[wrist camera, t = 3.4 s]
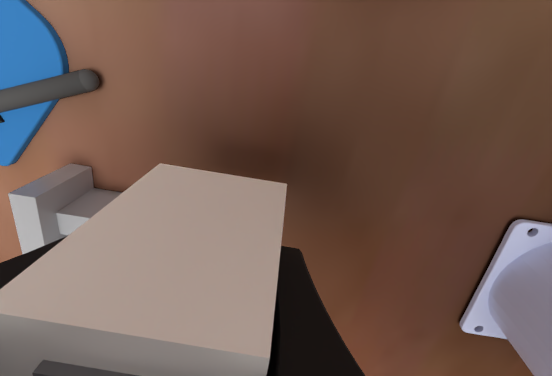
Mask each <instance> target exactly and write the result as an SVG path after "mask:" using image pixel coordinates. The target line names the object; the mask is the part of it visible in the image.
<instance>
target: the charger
mask: <svg viewBox="0 0 552 376" xmlns="http://www.w3.org/2000/svg"><path fill="white" fill-rule="evenodd" d="M286 191H287V184H285V183H279V182H273V181H266V180H260V179H254V178H248V177H242V176H236V175H229V174H223V173H217V172H211V171H205V170H199V169H192V168H186V167H180V166H174V165H168V164H161V163H160V164H158V165H157V166H156V167H155V168H153V169H152V170H151V171H149V172H148V173H147V174H146V175H144V176H143V177H142V178H141V179H139V180H138V181H137V182H136V183H134V184H133V185H132V186H130V187H129V188H128V189H127V190H125V191H124V192H123V193H122V194H120V195H119V196H118V197H117V198H115V199H114V200H113V201H111V202H110V203H109V204H108V205H106V206H105V207H104V208H103V209H101V210H100V211H99V212H98V213H96V214H95V215H94V216H92V217H91V218H90V219H89V220H87V221H86V222H85V223H84V224H82V225H81V226H80V227H79V228H77V229H76V230H75V231H73V232H72V233H71V234H70V235H68V236H67V237H66V238H65V239H63V240H62V241H61V242H60V243H58V244H57V245H56V246H54V247H53V248H52V249H51V250H49V251H48V252H47V253H46V254H44V255H43V256H42V257H41V258H39V259H38V260H37V261H35V262H34V263H33V264H32V265H30V266H29V267H28V268H27V269H25V270H24V271H23V272H22V273H20V274H19V275H18V276H16V277H15V278H14V279H13V280H11V281H10V282H9V283H8V284H6V285H5V286H4V287H3V288H1V289H0V376H266V375H267V370H268V365H269V360H270V351H271V341H272V331H273V321H274V311H275V301H276V291H277V281H278V271H279V261H280V251H281V241H282V231H283V221H284V211H285V201H286Z"/></svg>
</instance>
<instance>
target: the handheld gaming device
mask: <svg viewBox="0 0 552 376" xmlns="http://www.w3.org/2000/svg"><path fill="white" fill-rule="evenodd" d="M66 73H69V65H68V59H67V55H66V52H65V49H64V46H63V44H62V42H61V40H60V38H59V36H58V34H57V33H56V31H55V30H54V28H53V27H52V26H51V25H50V23H49V22H48V21H47V20H46V19H45V18H44V17H43V16H42V15H41V14H40V13H39V12H38V11H37V10H36V9H34V8H33V7H32V6H31V5H30V4H29V3H28V2H27V1H26V0H0V90H2V89H6V88H10V87H14V86H18V85H22V84H26V83H30V82H34V81H38V80H42V79H46V78H50V77H54V76H58V75H62V74H66ZM58 100H59V99H56V100H52V101H48V102H44V103H39V104H35V105H31V106H27V107H23V108H18V109H14V110H10V111H6V112H1V113H0V165H2V166H8V165H11V164H13V163H16V162H17V161H18V159H19V158H20V156H21V155H22V153H23V152H24V150H25V149H26V147H27V146H28V144H29V143H30V141H31V140H32V138H33V137H34V136H35V134H36V133H37V131H38V130H39V128H40V127H41V125H42V124H43V122H44V121H45V119H46V118H47V116H48V115H49V113H50V112H51V111H52V109H53V108H54V106H55V105H56V103H57V102H58Z"/></svg>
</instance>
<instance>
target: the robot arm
mask: <svg viewBox="0 0 552 376" xmlns="http://www.w3.org/2000/svg"><path fill="white" fill-rule="evenodd" d="M532 228H533V230H532V231H530V232H528V231H529V230H530V229H532ZM66 237H67V236H66ZM66 237H64V238H61V239H59V240H56V241H54V242H52V243H49V244H47V245H44V246H42V247H40V248H37V249H35V250H32V251H30V252H28V253H25V254H23V255H20V256H17V257H15V258H12V259H10V260H7V261H4V262H2V263H0V289H1V288H3V287H4V286H5V285H6V284H8V283H9V282H10V281H11V280H13V279H14V278H15V277H16V276H18V275H19V274H20V273H22V272H23V271H24V270H25V269H27V268H28V267H29V266H30V265H32V264H33V263H34V262H35V261H37V260H38V259H39V258H41V257H42V256H43V255H44V254H46V253H47V252H48V251H49V250H51V249H52V248H53V247H54V246H56V245H57V244H58V243H60V242H61V241H62V240H63V239H65V238H66ZM476 326H477V327H476ZM460 327H461V328H462V330H463V331H464V332H466V333H472V334H478V335H484V336H491V337H497V338H503V339H508V340H509V342H510V343H511V345H512V346H513V347H514V349H515V350H516V351H517V353H518V354H519V356H520V357H521V358H522V360H523V361H524V363H525V364H526V365H527V367H528V368H529V369H530V371H531V372H532V374H533V375H534V376H552V224H550V223H543V222H537V221H531V220H524V219H519V220H516V221H514V222H513V223H512V224H511V225H510V226H509V228H508V230H507V232H506V234H505V236H504V238H503V240H502V242H501V244H500V246H499V248H498V249H497V251H496V253H495V255H494V257H493V259H492V261H491V263H490V265H489V267H488V269H487V271H486V273H485V275H484V276H483V278H482V280H481V282H480V284H479V286H478V288H477V290H476V292H475V294H474V296H473V298H472V300H471V302H470V304H469V305H468V307H467V309H466V311H465V313H464V315H463V317H462V319H461V321H460ZM266 376H365V375H364V373H363V372H362V370H361V369H360V367H359V366H358V364H357V363H356V361H355V359H354V358H353V356H352V355H351V353H350V351H349V350H348V348H347V346H346V345H345V343H344V341H343V340H342V338H341V336H340V334H339V333H338V331H337V329H336V327H335V326H334V324H333V322H332V320H331V318H330V316H329V315H328V313H327V311H326V309H325V307H324V305H323V303H322V301H321V299H320V297H319V295H318V292H317V290H316V288H315V286H314V284H313V281H312V279H311V277H310V274H309V272H308V269H307V267H306V264H305V261H304V258H303V255H302V252H301V251H300V250H299V249H296V248H290V247H284V246H281V251H280V261H279V271H278V281H277V291H276V301H275V311H274V321H273V331H272V341H271V351H270V360H269V365H268V370H267V375H266Z"/></svg>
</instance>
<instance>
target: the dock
mask: <svg viewBox="0 0 552 376" xmlns="http://www.w3.org/2000/svg"><path fill="white" fill-rule="evenodd" d="M120 194H122V192H116V191H109V190H103V189H97V188H94V185H93V176H92V167H89V166H83V165H77V164H68V165H66V166H64V167H62V168H60V169H58V170H56V171H54V172H52V173H50V174H47V175H45V176H43V177H41V178H39V179H37V180H35V181H33V182H31V183H29V184H27V185H25V186H23V187H21V188H19V189H16V190H14V191H12V192H10V193H8V195H9V199H10V203H11V207H12V212H13V216H14V220H15V224H16V228H17V233H18V237H19V241H20V245H21V250H22V254H25V253H28V252H30V251H32V250H35V249H37V248H40V247H42V246H44V245H47V244H49V243H52V242H54V241H56V240H59V239H61V238H64V237H66V236H68V235H70V234H71V233H72V232H73V231H75V230H76V229H77V228H79V227H80V226H81V225H82V224H84V223H85V222H86V221H87V220H89V219H90V218H91V217H92V216H94V215H95V214H96V213H98V212H99V211H100V210H101V209H103V208H104V207H105V206H106V205H108V204H109V203H110V202H111V201H113V200H114V199H115V198H117V197H118V196H119V195H120Z"/></svg>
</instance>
